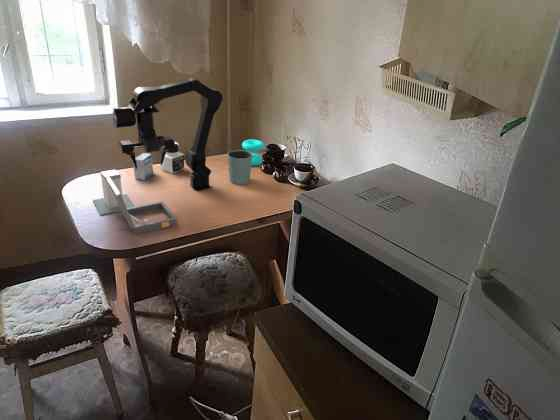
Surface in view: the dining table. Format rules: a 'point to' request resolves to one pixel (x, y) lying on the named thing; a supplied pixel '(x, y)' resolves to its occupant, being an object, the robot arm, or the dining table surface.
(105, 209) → the slate mat
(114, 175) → the block
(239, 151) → the grey teal cup
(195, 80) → the robot arm
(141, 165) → the medicine box
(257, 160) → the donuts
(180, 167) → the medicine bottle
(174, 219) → the equipment case
